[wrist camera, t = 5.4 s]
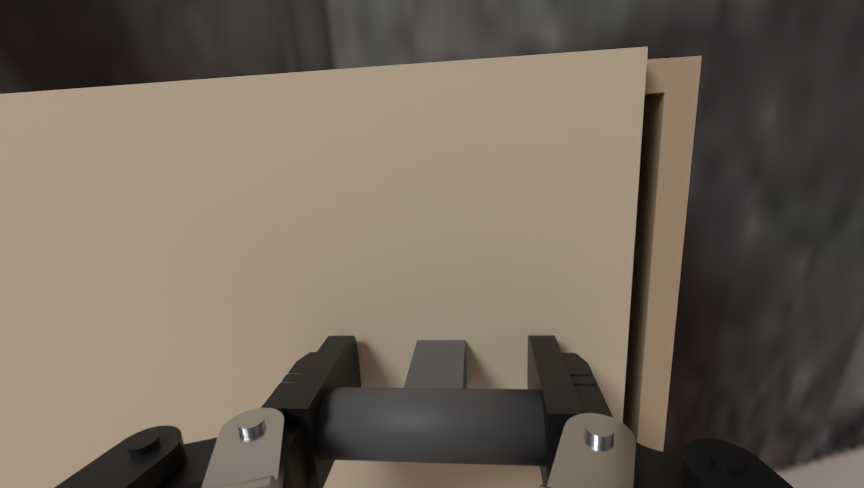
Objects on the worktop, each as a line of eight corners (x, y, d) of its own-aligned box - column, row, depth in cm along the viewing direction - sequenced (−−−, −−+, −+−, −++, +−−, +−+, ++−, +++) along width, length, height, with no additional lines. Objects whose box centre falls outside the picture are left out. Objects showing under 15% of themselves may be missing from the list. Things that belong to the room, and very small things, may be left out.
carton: (585, 92, 22) (702, 55, 11) (575, 371, 26) (652, 563, 15) (151, 119, 25) (-130, 113, 13) (204, 369, 29) (23, 529, 17)
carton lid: (638, 50, 11) (736, 5, 7) (606, 567, 15) (654, 732, 11) (-190, 110, 13) (-478, 103, 9) (-20, 533, 18) (-168, 654, 14)
